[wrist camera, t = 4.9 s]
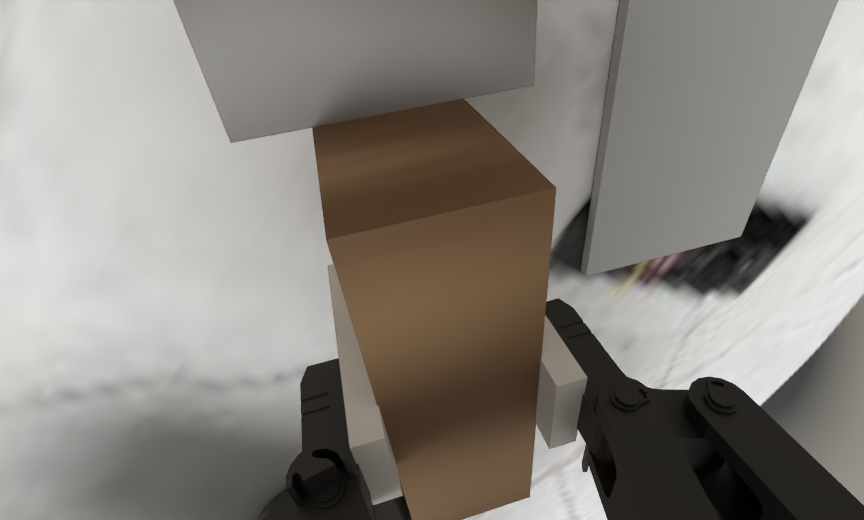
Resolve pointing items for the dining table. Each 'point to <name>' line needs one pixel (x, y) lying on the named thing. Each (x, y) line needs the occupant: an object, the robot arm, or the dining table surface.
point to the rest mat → (693, 120)
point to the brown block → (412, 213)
